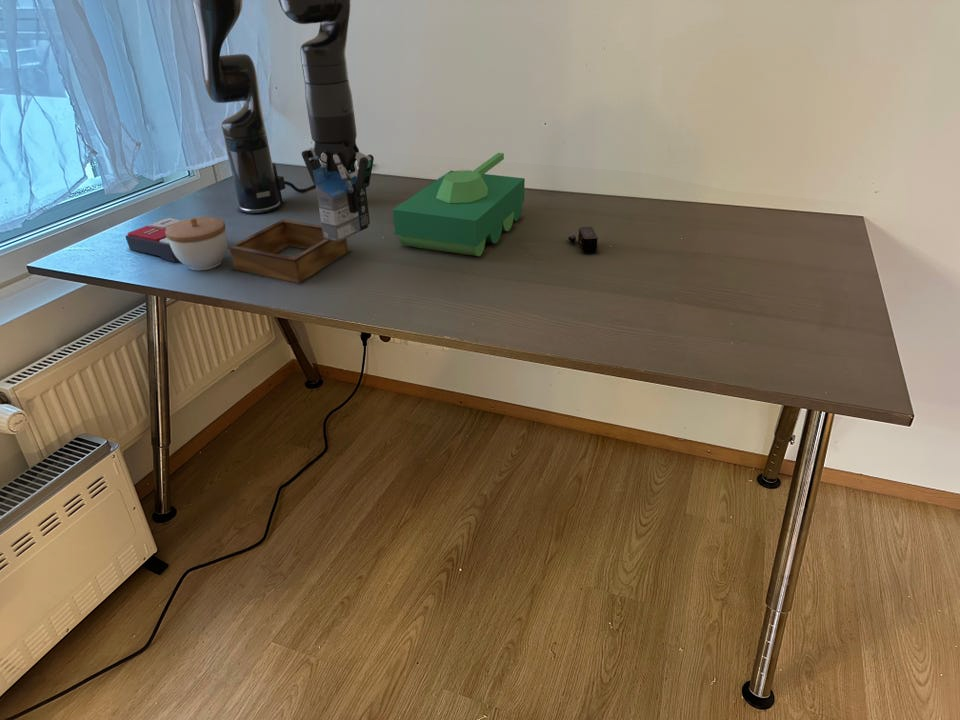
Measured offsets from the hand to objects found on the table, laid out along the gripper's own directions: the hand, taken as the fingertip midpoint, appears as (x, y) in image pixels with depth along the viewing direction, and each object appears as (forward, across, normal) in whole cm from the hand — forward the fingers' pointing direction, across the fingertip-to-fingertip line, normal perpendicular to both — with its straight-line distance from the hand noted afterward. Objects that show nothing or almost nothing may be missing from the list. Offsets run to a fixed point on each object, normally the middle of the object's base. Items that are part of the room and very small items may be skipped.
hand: (344, 209), depth 118 cm
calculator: (+13, +42, +4) cm, 44 cm away
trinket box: (+13, +30, +8) cm, 33 cm away
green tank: (+12, -10, -30) cm, 34 cm away
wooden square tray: (+12, +14, 0) cm, 19 cm away
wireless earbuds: (+12, -36, -28) cm, 47 cm away
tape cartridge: (+5, 0, 0) cm, 5 cm away
